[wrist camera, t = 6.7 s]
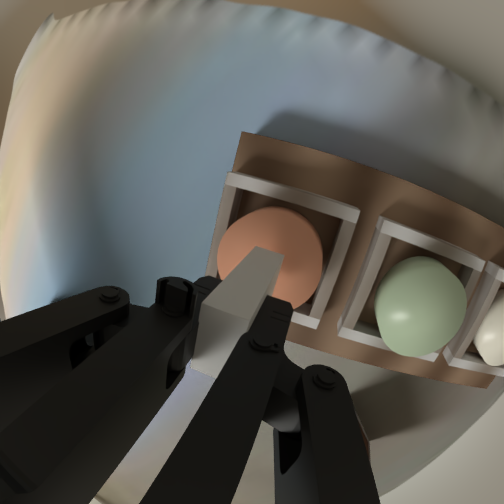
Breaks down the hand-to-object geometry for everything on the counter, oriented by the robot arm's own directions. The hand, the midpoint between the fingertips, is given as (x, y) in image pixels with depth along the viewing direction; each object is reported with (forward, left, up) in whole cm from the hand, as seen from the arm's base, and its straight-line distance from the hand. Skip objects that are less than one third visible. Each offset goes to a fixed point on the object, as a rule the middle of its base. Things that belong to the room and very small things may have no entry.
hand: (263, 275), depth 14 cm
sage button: (+10, 0, -4) cm, 11 cm away
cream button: (+20, 0, -6) cm, 21 cm away
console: (+10, 0, -9) cm, 13 cm away
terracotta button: (0, 0, -4) cm, 4 cm away
